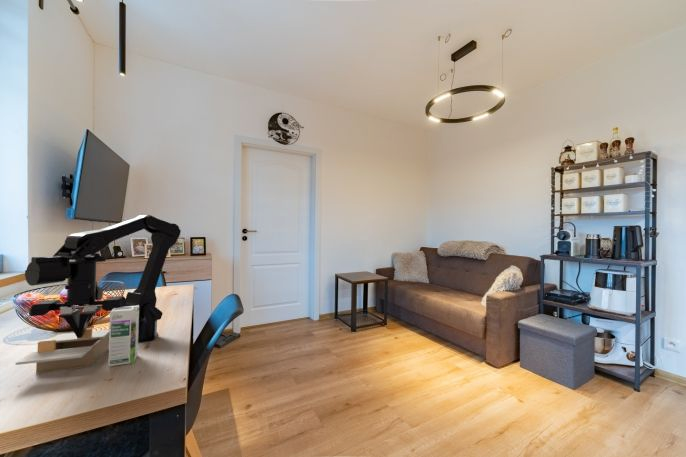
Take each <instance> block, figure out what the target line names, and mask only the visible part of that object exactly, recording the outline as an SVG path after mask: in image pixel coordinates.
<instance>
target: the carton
mask: <svg viewBox="0 0 686 457" xmlns="http://www.w3.org/2000/svg"><path fill="white" fill-rule="evenodd" d="M88 346H93V347H92V349H91V350H90V351H88V352H87V353H86V354H85V355H84V356H83V357H81V358H72V359H64V360H55V361H46V362H37V363H35V364H36V366H35V368H36V369H35V371H36V372H35V374H40V373H51V372H58V371H65V370H66V371H67V370H73V369H81V368H89V367H90V368H91V367H93V366H94V365H96V364H97V362H99V360H100V359H101V358H103V356H104V355H105V354H106V353H108V352H109V334H108V335H106V336H105V337H104V338H101V339H90V340H80V341H69V342H59V343H56V349H55V350H58V349H68V348H78V347H88Z"/></svg>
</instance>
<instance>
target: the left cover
mask: <svg viewBox="0 0 686 457" xmlns="http://www.w3.org/2000/svg"><path fill="white" fill-rule="evenodd" d="M92 347H93V346H88V347H78V348H68V349H58V350H55V349H56V340H52V339H51V340H43V341H42V340H40V341H39V342H37V350H36V351H32V352H29V353H28V354H27V355H26V356H24V357H22V358H21V359H19V360H17V361H16V362H15V365H17V366H18V365H19V366H20V365H26V364H37V362H46V361H55V360H64V359H72V358H81V357H83V356H84V355H85V354H86V353H87V352H88V351H90V350H91V349H92Z"/></svg>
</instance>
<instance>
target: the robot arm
mask: <svg viewBox="0 0 686 457" xmlns="http://www.w3.org/2000/svg"><path fill="white" fill-rule="evenodd" d="M143 230H145V231H146V232H147V233H149V234H151V237H150V238H151V244H152V247H151V250H150V252H149V255H148V258H147V261H146V264H145V267H144V269H143V271H142V272H143V273H142V274H141V277H140V280H139V283H138V286H137V287H136V289H135V290H134V291H132V292H131V291H128V292H127V293H126V296H124V295H120V296H119V295H118V296H116V295H115V296H108V297H107V298H105V299H103V294H104V288H102V287H100V286H98V285H99V284H98V280H97V263H101V262H106V260H107V259H106V258H104V257H102V256H101V255H100V253H98V252H100V251H102V250H104V249H105V248H107V247H108V246H109V245H110V244H111V243H112V242H115V241H116V240H119V239H122V238H124V237H126V236H127V237H128V236H129V235H132V234H135V233H137V232H140V231H143ZM181 232H182V231H181V228H180V227H179V225H178V224H176V223H173V222H172V223H171V222H168V221H165V220H164V219H163V220H162V219H160V218H157V217H155V216H154V215H151V214H141V215H140V214H139V215H138V216H136V217H134V218H131V219H128V220H124V221H121V222H119V223H116V224H113V225H109V226H107V227H103V228H100V229H95V230H87V231H86V230H85V231H80V232H74V233H71V234H69V235H67V236H66V238H65V239H64V244H62V246H61V247H60V248H58V250H57V251H56V252H55V253H54V254H53V255H52V256H32V257H31V258H30V262H29V263H28V264H27V267H26V269H25V271H24V277H25V281H26V283H27V284H28V285H29V286H31V287H33V286H41V285H48V284H57V283H64V281H66V280H67V284H66V285H65V286H64V290H67V291H66V300H65V301H64V302H61V300H60V299H46V300H44V299H43V300H41V301H38V302H35V303H33V304H32V305H31V306H30V307H29V308H28V316H29V317H40V316H45V315H47V314H48V313H49V312H52V311H54V312H55V311H60V314H58V318H63V319H64V320H65V322H66V323H67V324H68V325H69V327H70V328H71V330H72V331H73V333H75V335H76V336H77V338H81V337H83V335H84V333H85V330H86V329H87V328H88V326H89V323H90V321H91V320H92V318H93V317H94V315H95V314H97V313H98V312H100V311H101V310H103V311H105V312H109V311H110V312H111V311H112V309H113V308H119V307H126V306H137V305H139V328H138V343H139V342H140V343H141V342H148V341H149V342H150V341H154V340H155V339H156V338H157V336H158V334H159V332H157V331H158V329H157V328H158V321H159V320H162V316H163V311H161V310H160V309H159V308H158V307H156V305H157V300H158V298H157V294H156V287H157V286H158V281H159V280H160V277H161V273H162V270H163V268H164V265H165V262H166V259H167V255H168V253H169V251H170V249H171V248H172V247H173V246H174V245H176V243H177V241H178V240H179V237H180V235H181ZM102 299H103V300H102Z"/></svg>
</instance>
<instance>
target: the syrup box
mask: <svg viewBox="0 0 686 457" xmlns="http://www.w3.org/2000/svg"><path fill="white" fill-rule="evenodd" d="M138 328H139V305H137V306H126V307H119V308H113V309H112V311H110V313H109V330H110V331H109V350H108V358H107V359H108V362H107V366H108V368H111V367H114V366H115V367H116V366H121V365H129V364H134V363H135V362H136V359H137V357H138V351H139V348H138V347H139V342H138Z"/></svg>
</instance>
